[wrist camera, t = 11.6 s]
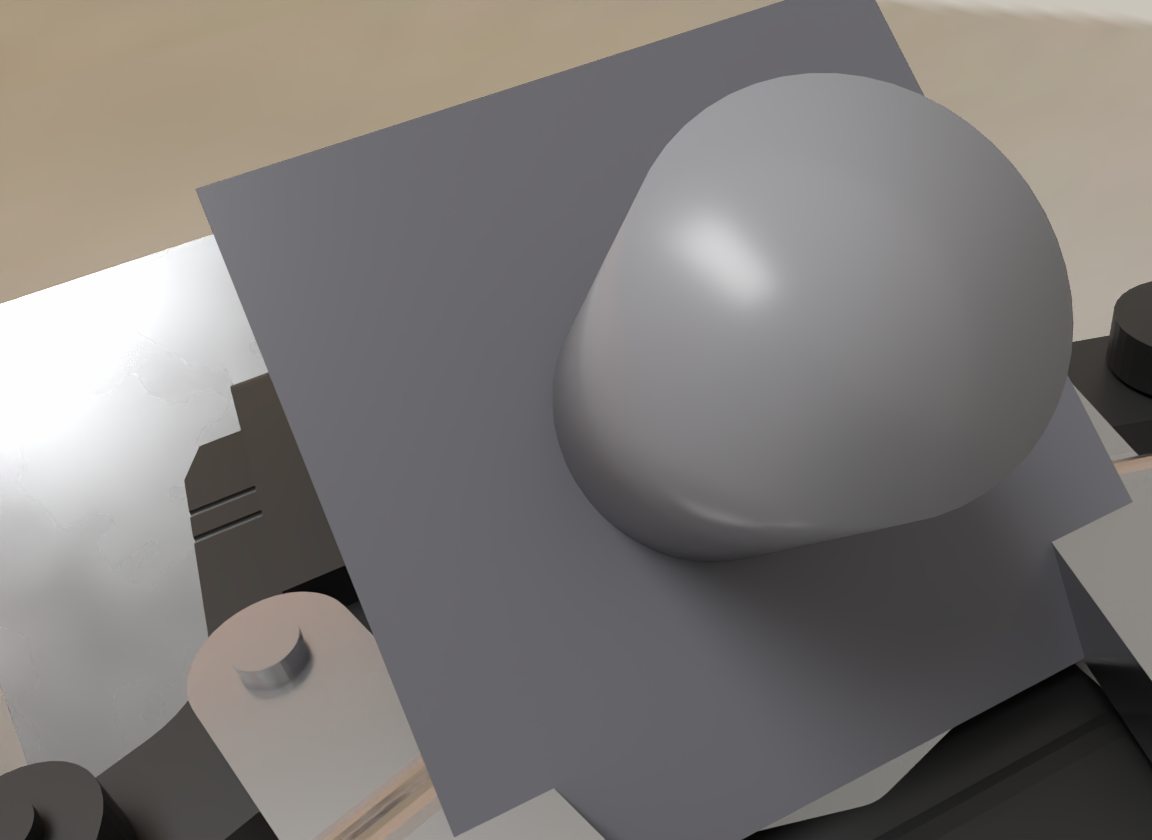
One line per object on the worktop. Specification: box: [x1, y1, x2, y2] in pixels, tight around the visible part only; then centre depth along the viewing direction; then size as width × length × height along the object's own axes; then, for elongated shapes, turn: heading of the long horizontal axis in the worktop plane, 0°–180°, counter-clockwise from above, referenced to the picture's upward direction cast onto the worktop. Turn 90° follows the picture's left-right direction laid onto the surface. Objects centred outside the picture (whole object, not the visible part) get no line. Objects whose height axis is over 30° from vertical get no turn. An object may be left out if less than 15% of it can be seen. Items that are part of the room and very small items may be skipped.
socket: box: [0, 234, 951, 831], centre depth 18 cm, size 16×14×3 cm
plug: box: [196, 0, 1133, 840], centre depth 10 cm, size 4×4×13 cm
